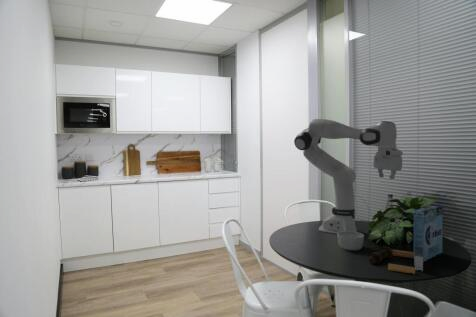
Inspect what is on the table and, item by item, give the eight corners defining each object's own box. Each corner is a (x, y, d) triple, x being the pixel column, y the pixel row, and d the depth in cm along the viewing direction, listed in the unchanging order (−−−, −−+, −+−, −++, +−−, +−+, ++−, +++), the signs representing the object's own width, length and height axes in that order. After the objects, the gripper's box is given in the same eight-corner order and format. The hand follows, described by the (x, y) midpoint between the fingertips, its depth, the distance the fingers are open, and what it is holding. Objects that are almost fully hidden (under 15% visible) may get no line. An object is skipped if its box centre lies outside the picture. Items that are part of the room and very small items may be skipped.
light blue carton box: (423, 262, 147) (424, 212, 146) (412, 259, 151) (413, 210, 150) (442, 253, 158) (443, 207, 157) (431, 251, 162) (432, 205, 161)
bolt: (370, 268, 145) (385, 259, 155) (379, 265, 142) (395, 256, 151) (363, 255, 147) (379, 247, 157) (373, 252, 143) (388, 244, 153)
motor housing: (388, 270, 138) (388, 254, 137) (390, 254, 157) (390, 240, 157) (423, 275, 132) (423, 259, 132) (421, 258, 151) (421, 244, 151)
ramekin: (366, 252, 161) (366, 238, 161) (338, 250, 164) (338, 237, 163) (361, 244, 174) (361, 231, 174) (335, 242, 176) (336, 230, 176)
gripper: (370, 151, 181) (370, 176, 181) (393, 152, 160) (392, 180, 161) (381, 151, 181) (380, 176, 182) (404, 152, 161) (404, 180, 162)
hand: (386, 178), depth 171 cm, fingers open, 8 cm apart
